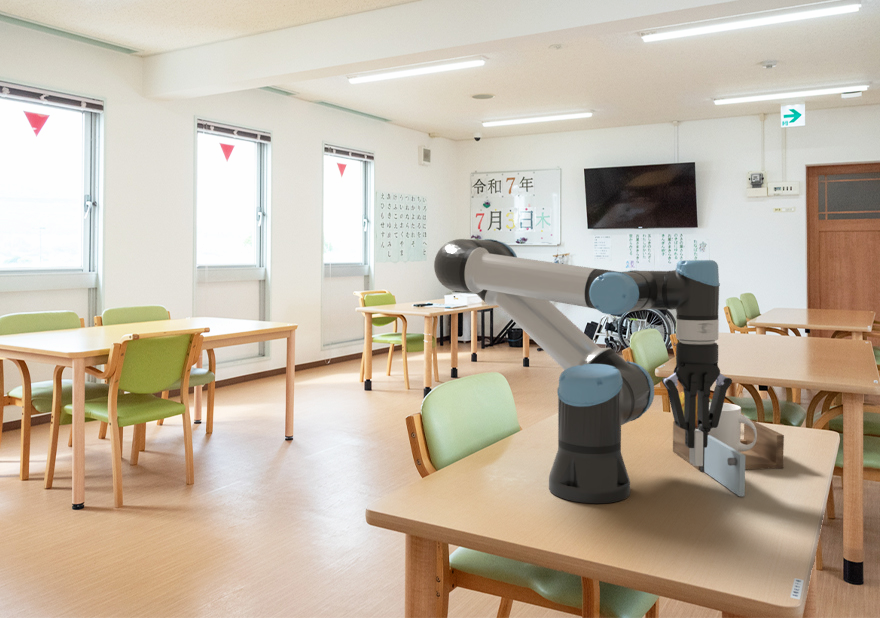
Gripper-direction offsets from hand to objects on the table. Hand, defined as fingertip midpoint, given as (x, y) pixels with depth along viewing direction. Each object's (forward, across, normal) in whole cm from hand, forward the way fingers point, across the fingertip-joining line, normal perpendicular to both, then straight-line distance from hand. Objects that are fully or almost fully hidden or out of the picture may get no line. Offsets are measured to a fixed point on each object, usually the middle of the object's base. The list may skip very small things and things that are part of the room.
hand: (696, 464), depth 133 cm
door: (+4, +5, +1) cm, 7 cm away
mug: (+4, +14, +17) cm, 23 cm away
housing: (+5, +14, +18) cm, 23 cm away
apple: (+5, +19, +48) cm, 52 cm away
